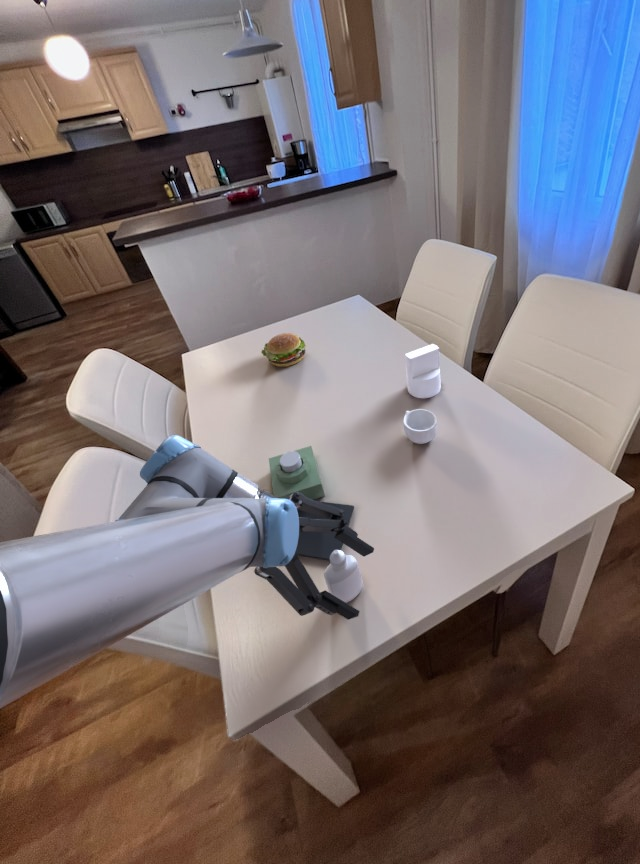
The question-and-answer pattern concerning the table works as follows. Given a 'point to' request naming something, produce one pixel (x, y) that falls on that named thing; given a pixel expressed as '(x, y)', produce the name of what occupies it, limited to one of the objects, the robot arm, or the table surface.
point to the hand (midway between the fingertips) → (361, 582)
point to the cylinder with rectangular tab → (423, 371)
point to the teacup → (420, 425)
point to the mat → (321, 536)
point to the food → (284, 349)
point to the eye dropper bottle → (343, 576)
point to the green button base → (297, 477)
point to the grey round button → (290, 462)
